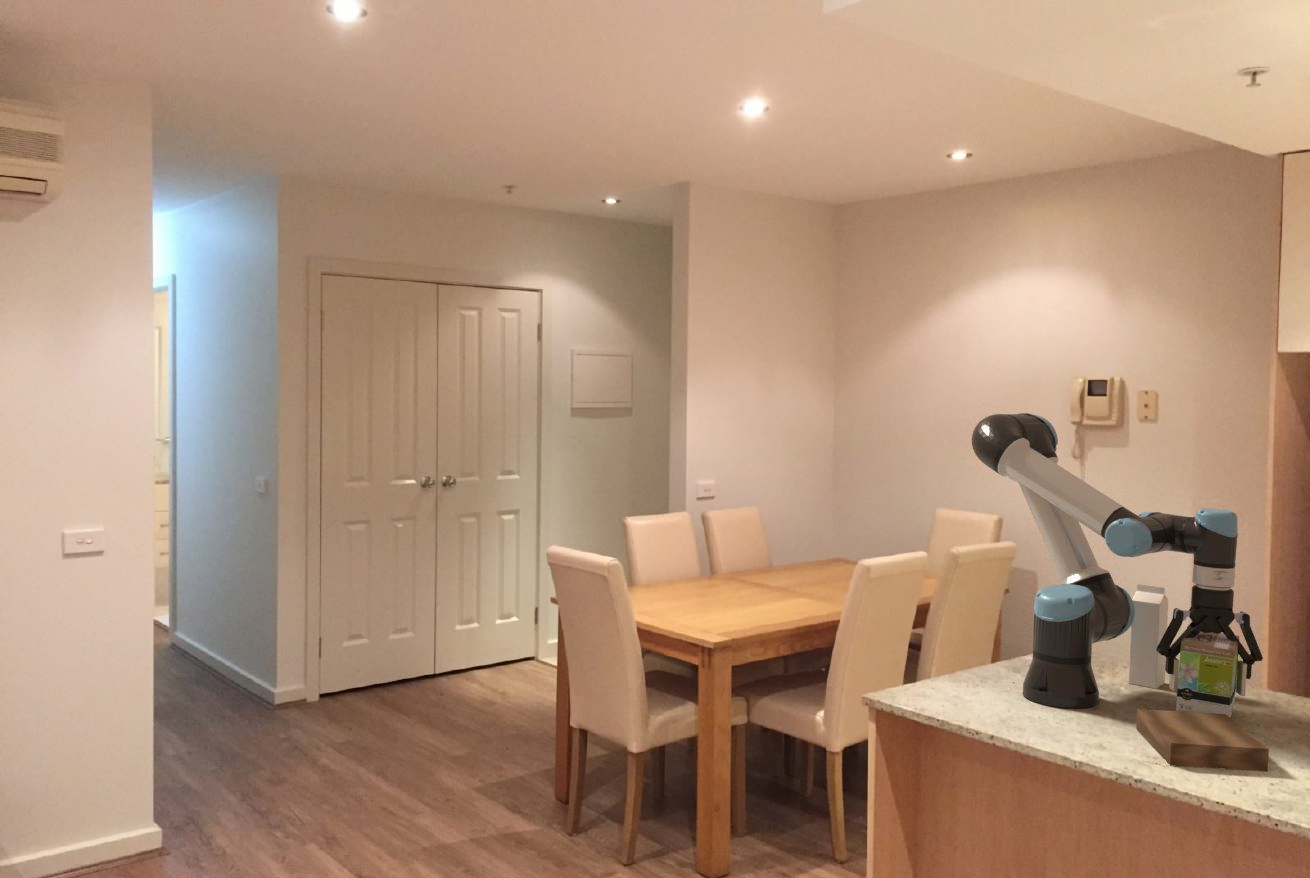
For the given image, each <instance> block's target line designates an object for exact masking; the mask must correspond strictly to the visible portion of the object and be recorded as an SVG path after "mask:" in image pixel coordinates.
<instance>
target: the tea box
mask: <svg viewBox="0 0 1310 878" xmlns="http://www.w3.org/2000/svg"><path fill="white" fill-rule="evenodd" d="M1235 636H1236V637H1237V639H1238V640H1239V641H1240V635H1236V634H1235ZM1238 661H1239V654H1238V645H1237V642H1236V641H1231V640H1229V639H1228V638H1227V637H1226V636H1225V635H1224V634H1223V632H1222V633H1220V634H1216V633H1213V632H1211V633H1203V632H1202V631H1201V632H1200V633H1199V634H1198V635H1196V636H1195V637H1194V638H1183V639H1182V641H1181V650H1180V653H1179V673H1178V687H1177V692H1176V699H1175V700H1176V701H1175V702H1176V703H1175V711H1181V712H1199V713H1216V714H1226V715H1227V716H1228V717H1230V718H1231V719H1232V713H1233V710H1234V707H1235V704H1236V703H1235V702H1236V682H1237V666H1238Z"/></svg>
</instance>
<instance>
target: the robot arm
mask: <svg viewBox="0 0 1310 878" xmlns="http://www.w3.org/2000/svg"><path fill="white" fill-rule="evenodd" d="M1058 443H1059V440H1058V434H1057V431H1056V429H1055V427H1054V426H1053V424H1052V423H1051V422H1050V421H1049V420H1048V419H1046V418H1044V417H1043V416H1040V415H1038V414H1034V413H1028V412H1027V413H1025V412H1021V413H1006V414H1005V413H995V414H991V415H988V416H986V417H984V418H983V419H980V420H979V422H978V423H977V424H976V426H974V430H973V431H972V436H971V446H972V450H973V452H974V454H975V456H976V457H977V459H978V460H979V461H980V462H981V463H982V464H983V465H985V466H986V467H988V468H990V469H991V470H992V471H993V472H995V473H997V474H999V475H1000V476H1002V477H1008V479H1009V480H1010V481H1011V480H1012V481H1014V482H1017V483H1018V485H1019V487H1020V489H1021V492H1022V494H1023V496H1024V499H1025V502H1026V503H1027V506H1028V507H1029V510H1030V512H1031V515H1032V517H1033V519H1034V522H1035V523H1036V526H1037V529H1038V531H1039V534H1040V536H1041V538H1042V541H1043V543H1044V545H1045V547H1046V549H1047V552H1048V554H1049V556H1050V558H1051V561H1052V564H1053V566H1054V568H1055V570H1056V572H1057V575H1058V577H1059V579H1060V580H1059V582H1060V583H1059V584H1052V585H1047V586H1043V587H1041V588H1040V589H1039V590H1038V591H1037V592H1036V594H1035V597H1034V604H1033V635H1032V637H1033V640H1032V659H1031V661H1030V662H1031V663H1030V665H1029V668H1028V670H1027V673H1026V675H1025V678H1024V681H1023V683H1022V696H1023V697H1025V698H1026V699H1027V700H1030V701H1031V702H1034V703H1038V704H1042V705H1045V706H1046V705H1047V706H1050V707H1057V708H1067V709H1085V708H1092V707H1095V706H1097V705H1098V704H1099V703H1100V691H1099V687H1098V684H1097V680H1096V677H1095V674H1094V670H1093V668H1092V666H1093V665H1092V654H1093V653H1092V650H1093V644H1096V643H1099V642H1103V641H1110V640H1113V639H1116V638H1118V637H1119V636H1122V635H1123V634H1124V633H1126V632H1127V631H1128V630H1129V629H1131V624H1132V621H1133V619H1134V614H1135V609H1134V604H1133V601H1132V599H1133V597H1131V595H1130V594H1129V592H1128V591H1127V590H1125V588H1123V587H1121V586H1119V585H1118V584H1116V583H1115V582H1114V579H1113V576H1111V573H1110V571H1109V570H1106V569H1104V568H1102V567H1101V566H1099V564H1098V561H1097V559H1096V557H1095V555H1094V552H1093V550H1092V547H1091V545H1090V544H1089V541H1088V540H1087V536H1086V534H1085V532H1084V530H1083V528H1082V526H1081V524H1082V525H1083V526H1085V527H1086V528H1088V529H1090V531H1093V532H1094V533H1096V534H1097V535H1099V536H1100V537H1102V538H1103V539H1104V540H1105V544H1106V545H1107V547H1108V549H1109V551H1111V553H1113V554H1114V555H1116V556H1119V557H1124V558H1126V557H1128V558H1135V557H1140V556H1143V555H1148V554H1155V553H1161V552H1174V553H1175V552H1176V553H1184V554H1191V555H1193V564H1192V566H1193V567H1192V578H1191V581H1192V583H1193V585H1192V587H1191V595H1190V596H1191V599H1190V600H1191V601H1190V608H1189V609H1188V610H1186V609H1185V610H1184V609H1180V608H1178V607H1175V608H1173V613H1172V619H1171V621H1170V622H1169V624H1168V625H1167V630H1166V632H1165V634H1164V635H1163V637H1162V639H1161V641H1160V643H1159V645H1158V647H1157V649H1156V651H1157V652H1158V653H1160V654H1161V655H1163V656H1165V657H1166V665H1165V673H1166V674H1168V675H1169V683H1168V684H1169V685H1168V688H1169V689H1170V690H1171V691H1172V692H1175V693H1177V687H1178V675H1179V662H1180V659H1178V658H1177V657H1178V656H1179V655H1180V650H1181V641H1182V639H1183V638H1194V637H1195V636H1196V635H1198V634H1199V633H1200V632H1201V631H1202V632H1203V633H1211V632H1213V633H1216V634H1220V633H1223V634H1224V635H1225V636H1226V637H1227V638H1228V639H1229V640H1231V641H1236V642H1237V645H1238V656H1239V657H1240V658H1241V660H1238V666H1237V679H1236V692H1235V694H1237V695H1239V696H1240V697H1246V688H1247V687H1246V685H1247V680H1251V678H1252V669H1253V668H1252V667H1253V665H1255V663H1256V662H1262V661H1263V659H1264V658H1263V655H1262V652H1261V650H1260V647H1259V643H1258V642H1257V640H1256V637H1255V635H1254V631H1253V630H1252V627H1251V616H1250V614H1248V613H1246V612H1245V611H1239V612H1234V610H1233V609H1234V599H1235V598H1234V596H1235V591H1234V590H1233V589H1232V588H1233V587H1235V579H1236V578H1235V576H1236V557H1237V549H1238V548H1237V547H1238V546H1237V545H1238V537H1239V532H1238V527H1239V526H1238V516H1237V513H1235V512H1234V511H1231V510H1227V509H1219V508H1218V509H1217V508H1199V509H1198V510H1197V511H1196V514H1195V516H1185V515H1184V516H1183V515H1178V514H1177V515H1176V514H1169V513H1162V512H1160V511H1159V512H1158V511H1153V512H1152V511H1142V512H1141V513H1139V514H1136V513H1135V512H1133V511H1131V510H1130V509H1127V508H1126V507H1125V506H1123V505H1122V504H1120V503H1119V502H1117V501H1115V500H1114V499H1113V498H1111V497H1109V496H1107V494H1105V493H1103V492H1102V491H1100V490H1098V489H1096V488H1095V487H1094V486H1092V485H1090V484H1089V483H1087V482H1086V481H1084V480H1082V479H1081V478H1080V477H1078V476H1076V475H1075V474H1073V473H1071V472H1070V471H1068V470H1067V469H1065V468H1064V467H1062V466H1061V465H1058V462H1059V457H1058V456H1057V452H1056V451H1057V445H1058ZM1080 523H1081V524H1080ZM1188 617H1189V619H1190V620H1191V622H1190V623H1189V624H1188V626H1187V627H1186V629H1185V630H1184V631H1183V632H1182V633H1181V634H1180V635H1179V636H1178V638H1176V636H1177V635H1178V633H1179V631H1180V629H1181V627H1182V625H1183V623H1184V621H1186V620H1187V618H1188ZM1234 620H1235V621H1236V623H1238V625H1239V628H1240V630H1241V632H1242V635H1243V637H1244V640H1245V642H1246V645H1247V648H1248V650H1249V652H1248V651H1247V650H1246V648H1245V647H1244V646H1243V643H1241V642H1240V639H1239V640H1238V639H1237V637H1236V636H1235V635H1236V634H1235V633H1234V631H1233V630H1232V628H1231V627H1230V625H1231V624H1232V623H1233V622H1234ZM1175 638H1176V640H1175ZM1174 640H1175V641H1174Z"/></svg>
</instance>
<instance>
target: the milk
mask: <svg viewBox="0 0 1310 878" xmlns="http://www.w3.org/2000/svg"><path fill="white" fill-rule="evenodd" d="M1165 590H1166V589H1165V588H1164V587H1161V586H1154V585H1148V584H1139V583H1138V584H1137V585H1136V591H1135V593H1134V595H1133V597H1132V601H1133V604H1134V609H1135V614H1134V619H1133V621H1132V624H1131V626H1130V636H1129V637H1130V640H1129V641H1130V642H1129V660H1128V661H1129V662H1128V663H1129V664H1128V684H1131V685H1135V686H1141V687H1146V688H1150V689H1151V688H1152V689H1158V688H1159V687H1162V686H1163V685H1164V684H1166V670H1165V665H1166V657H1165V656H1163V655H1161V654H1160V653H1158V652H1157V651H1156V649H1157V647H1158V645H1159V643H1160V641H1161V639H1162V637H1163V635H1164V634H1165V632H1166V630H1167V628H1168V619H1169V617H1168V616H1169V599H1168V597H1167V596H1166V591H1165Z"/></svg>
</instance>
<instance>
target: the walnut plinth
mask: <svg viewBox="0 0 1310 878" xmlns="http://www.w3.org/2000/svg"><path fill="white" fill-rule="evenodd" d="M1136 731H1137V732H1138V733H1139V734H1140V735H1141V736H1142V737H1143V739H1145V740H1146V742H1148V743H1149V745H1150V746H1151V747H1152V748H1153V749H1154V750H1155V751H1156V752H1157V754H1159V756H1160V757H1162V759H1165V760H1166V761H1165V760H1164V761H1165V762H1166V763H1167V764H1168V765H1169V764H1170V765H1169V766H1171V765H1176V767H1187V766H1193V767H1192V768H1204V767H1205V769H1218V768H1225V769H1224V770H1234V769H1237V770H1238V771H1253V772H1266V773H1267V772H1268V771H1269V753H1270V748H1269V747H1267V746H1266V745H1265V744H1263V742H1261V741H1260V740H1259V739H1257V737H1255V736H1254V735H1252V734H1251V733H1250V732H1249V731H1248V730H1246V729H1245V728H1244V727H1242V726H1241V725H1239V723H1237V722H1236V721H1235V720H1233V719H1232V717H1231V718H1230V717H1228V716H1227V715H1226V714H1216V713H1199V712H1181V711H1176V710H1161V709H1146V708H1145V709H1142V708H1137V709H1136ZM1177 765H1178V766H1177Z"/></svg>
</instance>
